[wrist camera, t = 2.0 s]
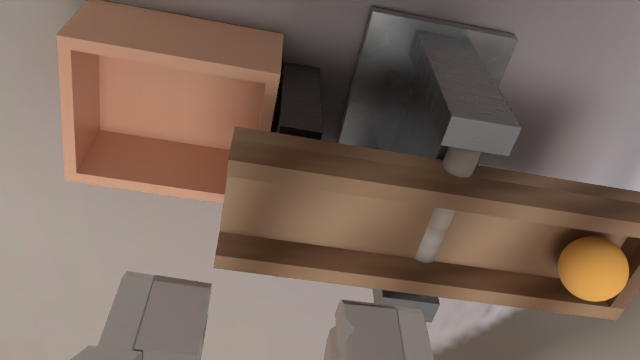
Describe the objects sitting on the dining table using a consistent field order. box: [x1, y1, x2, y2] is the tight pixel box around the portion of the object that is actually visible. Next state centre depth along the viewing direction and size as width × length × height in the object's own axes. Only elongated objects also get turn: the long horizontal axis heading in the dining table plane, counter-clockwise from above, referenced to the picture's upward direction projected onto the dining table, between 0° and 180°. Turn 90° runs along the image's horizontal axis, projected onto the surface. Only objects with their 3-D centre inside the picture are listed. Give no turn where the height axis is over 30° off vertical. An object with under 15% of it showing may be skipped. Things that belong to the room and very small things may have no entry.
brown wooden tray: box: [214, 126, 640, 320], centre depth 27 cm, size 20×9×3 cm, turn 79°
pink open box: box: [56, 0, 284, 203], centre depth 31 cm, size 10×8×5 cm
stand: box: [272, 6, 522, 322], centre depth 31 cm, size 12×13×10 cm
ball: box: [558, 236, 629, 302], centre depth 27 cm, size 3×3×3 cm
